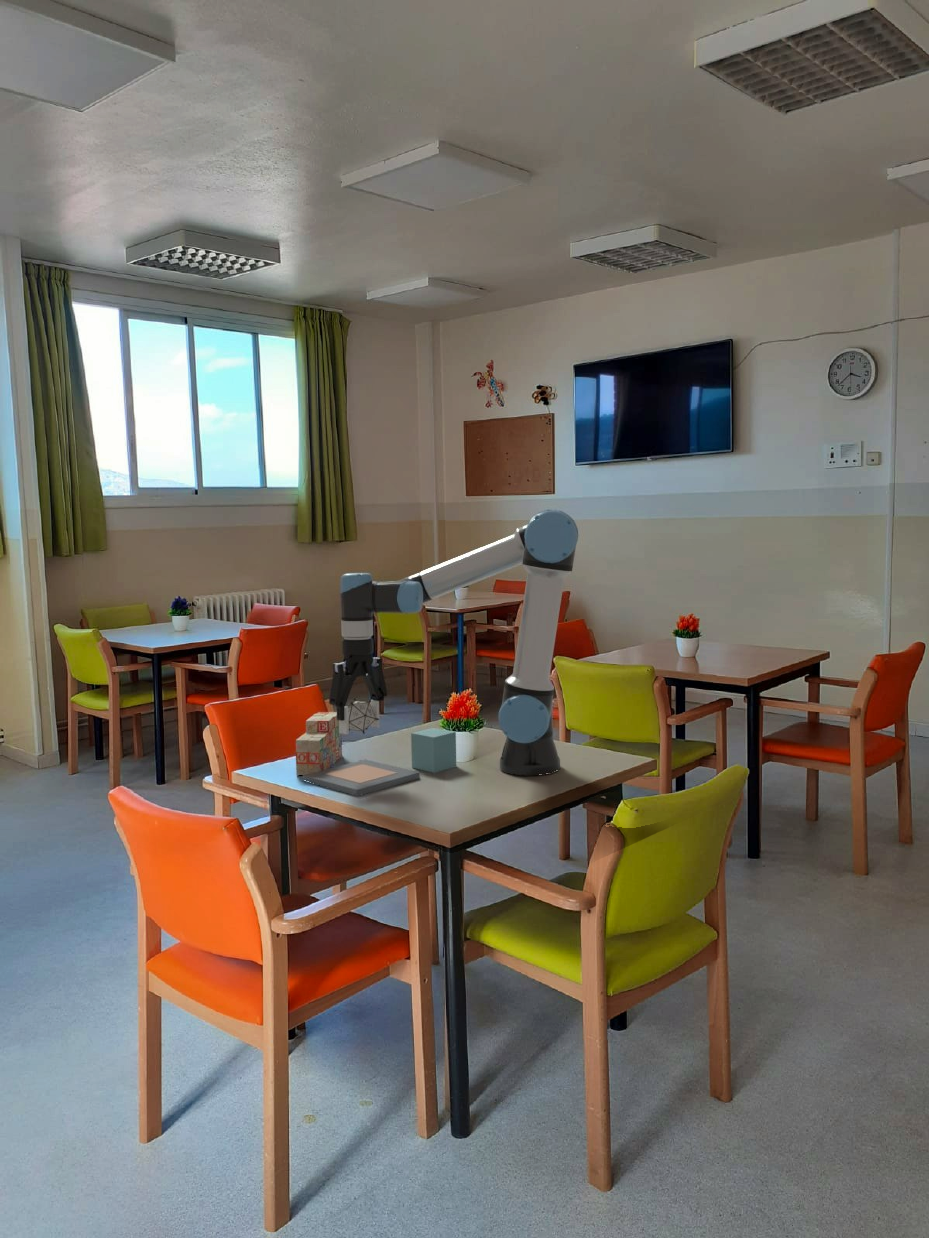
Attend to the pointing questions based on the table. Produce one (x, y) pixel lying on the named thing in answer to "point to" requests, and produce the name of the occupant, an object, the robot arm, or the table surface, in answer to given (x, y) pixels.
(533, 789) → the table surface
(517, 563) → the robot arm
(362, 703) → the grey icosahedron
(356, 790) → the baseplate
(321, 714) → the stack of blocks
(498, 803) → the table surface
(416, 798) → the table surface
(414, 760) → the teal block
